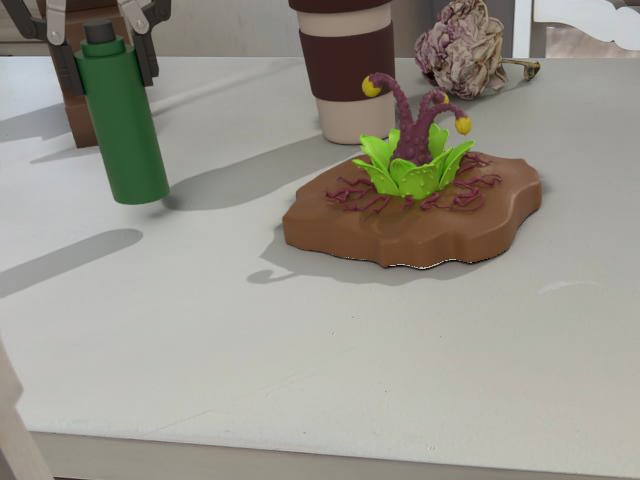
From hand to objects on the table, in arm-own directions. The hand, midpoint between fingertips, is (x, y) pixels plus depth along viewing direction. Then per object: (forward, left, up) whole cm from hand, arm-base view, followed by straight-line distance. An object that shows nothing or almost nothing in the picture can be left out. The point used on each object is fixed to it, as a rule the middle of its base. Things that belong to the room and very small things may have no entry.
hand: (113, 88), depth 79 cm
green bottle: (0, 0, -8) cm, 8 cm away
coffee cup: (+26, 0, -11) cm, 28 cm away
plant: (+12, -19, -11) cm, 25 cm away
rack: (+16, +27, -11) cm, 33 cm away
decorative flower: (+43, -2, -11) cm, 45 cm away
